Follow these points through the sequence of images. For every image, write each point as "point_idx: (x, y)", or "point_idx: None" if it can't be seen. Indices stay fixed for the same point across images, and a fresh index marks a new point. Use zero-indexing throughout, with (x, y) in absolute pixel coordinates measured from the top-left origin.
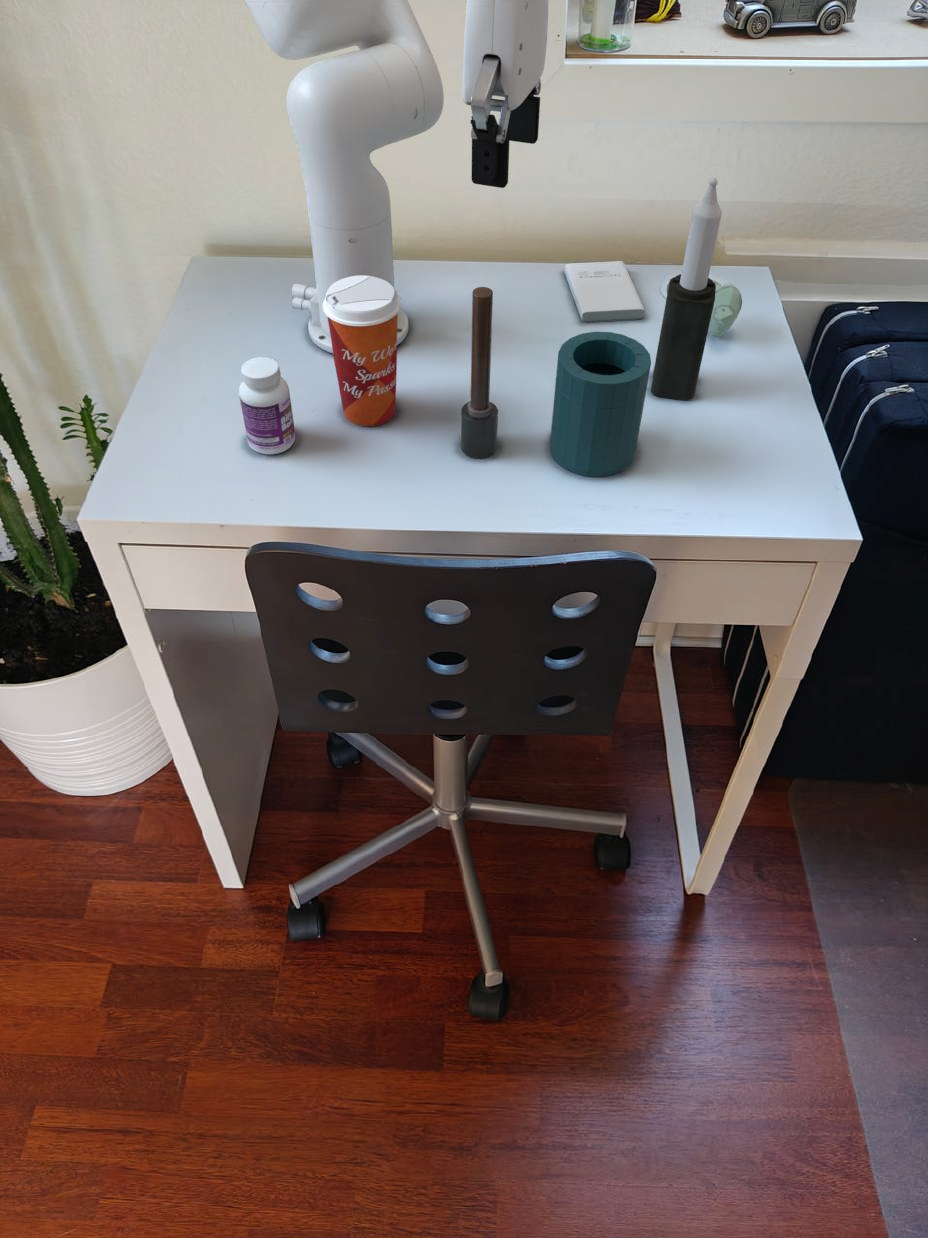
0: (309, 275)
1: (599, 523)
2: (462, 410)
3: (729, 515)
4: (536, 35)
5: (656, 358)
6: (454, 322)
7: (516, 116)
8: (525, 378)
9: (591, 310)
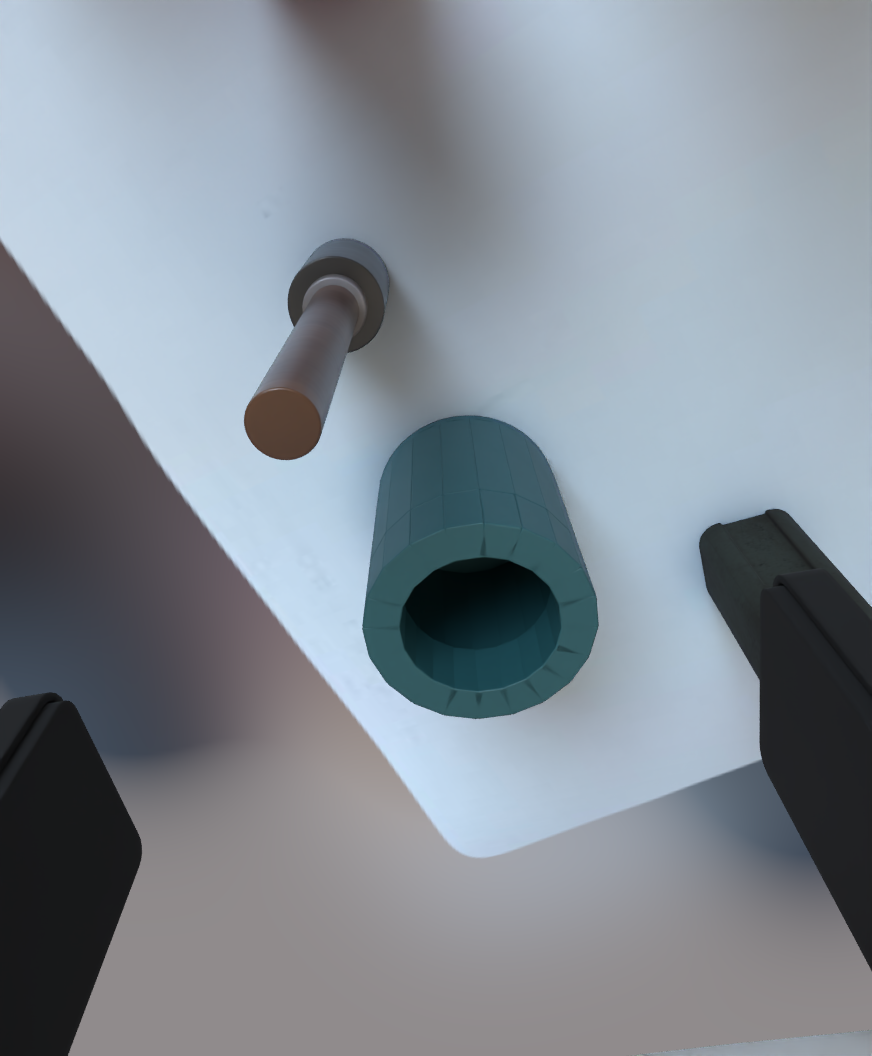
0: None
1: (276, 587)
2: (310, 266)
3: (416, 739)
4: None
5: (745, 564)
6: None
7: (839, 774)
8: (657, 252)
9: None
